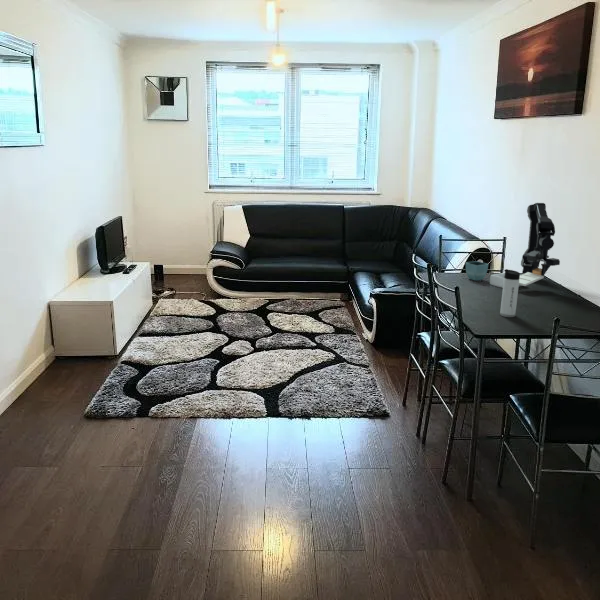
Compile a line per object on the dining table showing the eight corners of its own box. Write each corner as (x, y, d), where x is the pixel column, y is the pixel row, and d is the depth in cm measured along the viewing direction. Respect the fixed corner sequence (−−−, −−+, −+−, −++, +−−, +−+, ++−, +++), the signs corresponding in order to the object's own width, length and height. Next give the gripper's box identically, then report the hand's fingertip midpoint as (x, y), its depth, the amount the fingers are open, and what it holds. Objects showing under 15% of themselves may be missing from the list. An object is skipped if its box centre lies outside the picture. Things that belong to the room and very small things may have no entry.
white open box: (508, 281, 328) (509, 272, 327) (523, 285, 320) (524, 276, 319) (489, 284, 321) (490, 274, 320) (504, 288, 313) (505, 279, 312)
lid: (533, 271, 318) (533, 266, 317) (549, 275, 310) (549, 270, 309) (509, 281, 310) (509, 277, 309) (525, 285, 302) (525, 281, 302)
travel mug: (502, 312, 272) (507, 268, 267) (517, 315, 268) (522, 270, 263) (496, 315, 268) (501, 270, 262) (511, 318, 263) (517, 273, 258)
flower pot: (463, 278, 333) (465, 262, 330) (476, 277, 336) (477, 261, 334) (474, 282, 325) (476, 265, 323) (487, 280, 329) (489, 264, 326)
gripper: (516, 243, 313) (513, 273, 317) (547, 250, 297) (543, 281, 302) (531, 242, 318) (527, 271, 323) (562, 248, 303) (558, 279, 307)
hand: (538, 275), depth 313 cm, fingers closed on lid, 4 cm apart
